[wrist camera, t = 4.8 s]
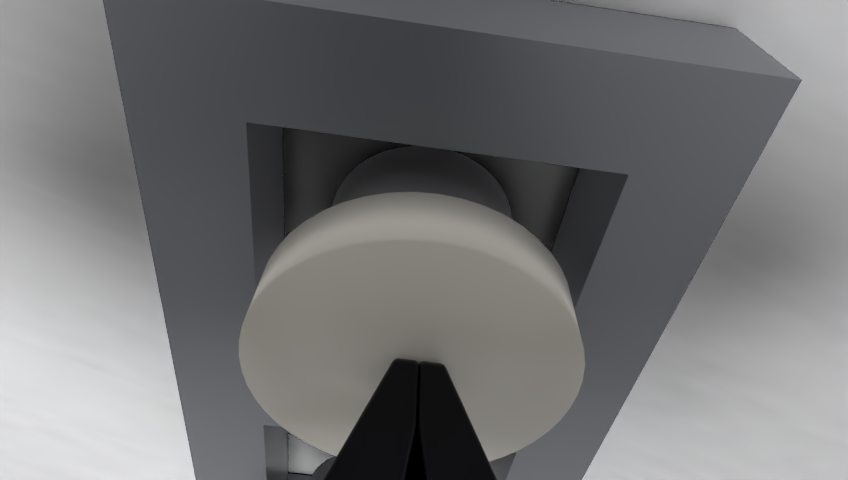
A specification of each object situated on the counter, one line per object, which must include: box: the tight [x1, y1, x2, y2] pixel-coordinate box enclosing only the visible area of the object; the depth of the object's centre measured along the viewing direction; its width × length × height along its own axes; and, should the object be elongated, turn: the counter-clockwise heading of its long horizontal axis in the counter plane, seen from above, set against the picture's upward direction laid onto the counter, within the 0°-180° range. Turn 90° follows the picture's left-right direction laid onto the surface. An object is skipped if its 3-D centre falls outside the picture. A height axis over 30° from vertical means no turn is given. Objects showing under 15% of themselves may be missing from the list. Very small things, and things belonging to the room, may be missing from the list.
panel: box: [103, 0, 801, 480], centre depth 17 cm, size 10×26×2 cm, turn 172°
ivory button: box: [239, 146, 585, 461], centre depth 11 cm, size 6×6×4 cm
